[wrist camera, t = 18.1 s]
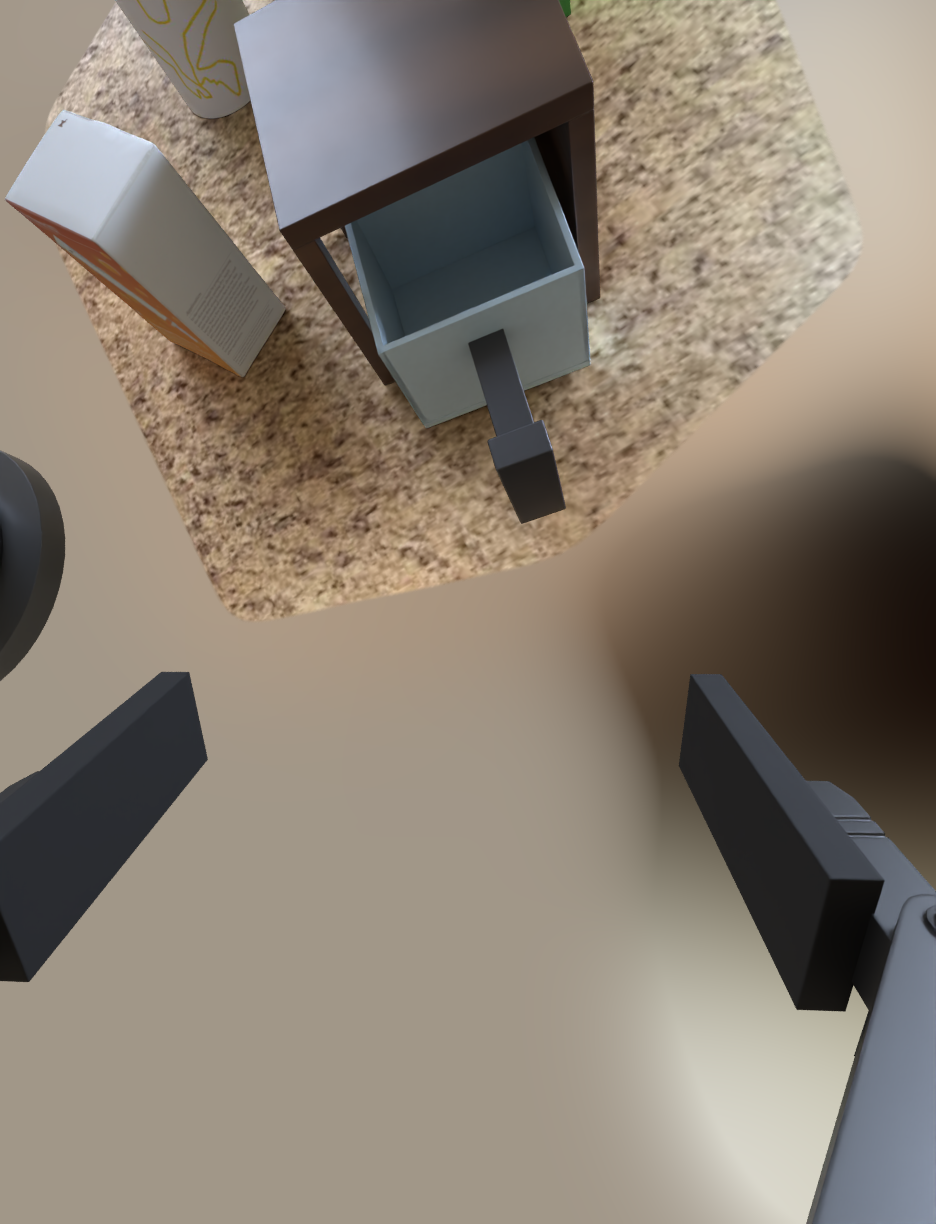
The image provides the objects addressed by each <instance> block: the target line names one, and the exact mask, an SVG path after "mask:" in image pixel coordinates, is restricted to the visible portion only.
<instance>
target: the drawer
mask: <svg viewBox="0 0 936 1224" xmlns="http://www.w3.org/2000/svg"><path fill="white" fill-rule="evenodd" d="M345 228H346V232H347V236H348V240H349V244H350V248H351V251H352V255H353V259H354V263H355V267H356V271H357V274H358V278H359V282H360V286H361V290H362V294H363V298H364V301H365V305H366V309H367V313H368V317H369V321H370V324H371V328H372V332H373V336H374V340H375V344H376V348H377V351H378V355H379V356H380V358H381V359H382V361H383V362H384V364H385V366H386V367H387V369H388V370H389V372H390V373H391V375H392V376H393V378H394V380H395V381H396V383H397V384H398V386H399V387H400V389H401V391H402V392H403V394H404V395H405V397H406V398H407V400H408V401H409V403H410V405H411V406H412V408H413V409H414V411H415V412H416V414H417V416H418V417H419V419H420V420H421V422H422V423H423V425H424V426H425V428H429V427H432V426H434V425H437V424H439V423H442V422H445V421H447V420H450V419H452V418H455V417H457V416H460V415H463V414H465V413H468V412H470V411H473V410H476V409H478V408H481V407H483V406H486V405H487V407H488V410H489V413H490V417H491V420H492V423H493V426H494V430H495V433H496V436H497V437H495V438H492V439H489V440H488V445H489V448H490V452H491V455H492V458H493V462H494V465H495V468H496V471H497V473H498V475H499V477H500V480H501V482H502V484H503V486H504V488H505V490H506V492H507V495H508V497H509V499H510V501H511V503H512V505H513V507H514V510H515V512H516V514H517V516H518V518H519V520H520V522H521V524H523V523H526V522H528V521H531V520H534V519H537V518H540V517H543V516H546V515H549V514H552V513H555V512H558V511H561V510H563V509H565V508H566V506H565V502H564V497H563V493H562V488H561V484H560V479H559V475H558V470H557V466H556V461H555V457H554V453H553V449H552V446H551V443H550V440H549V436H548V433H547V430H546V427H545V424H544V421H543V420H540V421H537V422H535V423H534V421H533V418H532V415H531V411H530V408H529V405H528V402H527V399H526V396H525V393H524V391H525V390H527V389H530V388H532V387H535V386H538V385H540V384H543V383H545V382H548V381H551V380H553V379H556V378H558V377H561V376H564V375H566V374H569V373H571V372H574V371H576V370H579V369H582V368H584V367H587V366H589V365H590V348H589V333H588V317H587V302H586V286H585V271H584V266H583V263H582V261H581V258H580V255H579V253H578V250H577V248H576V245H575V242H574V240H573V237H572V234H571V232H570V229H569V227H568V224H567V221H566V219H565V216H564V214H563V211H562V208H561V206H560V203H559V200H558V198H557V195H556V193H555V190H554V187H553V185H552V182H551V179H550V177H549V174H548V172H547V169H546V166H545V164H544V161H543V159H542V156H541V153H540V151H539V148H538V145H537V143H536V140H535V138H534V137H533V138H531V139H529V140H527V141H525V142H523V143H521V144H518V145H516V146H514V147H512V148H510V149H508V150H506V151H504V152H501V153H499V154H497V155H495V156H493V157H491V158H489V159H486V160H484V161H482V162H480V163H478V164H476V165H474V166H471V167H469V168H467V169H465V170H463V171H461V172H459V173H457V174H454V175H452V176H450V177H448V178H446V179H444V180H442V181H439V182H437V183H435V184H433V185H431V186H429V187H427V188H424V189H422V190H420V191H418V192H416V193H414V194H412V195H409V196H407V197H405V198H403V199H401V200H399V201H397V202H395V203H392V204H390V205H388V206H386V207H384V208H382V209H380V210H377V211H375V212H373V213H371V214H369V215H367V216H365V217H362V218H360V219H358V220H356V221H354V222H352V223H350V224H348V225H345Z"/></svg>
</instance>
